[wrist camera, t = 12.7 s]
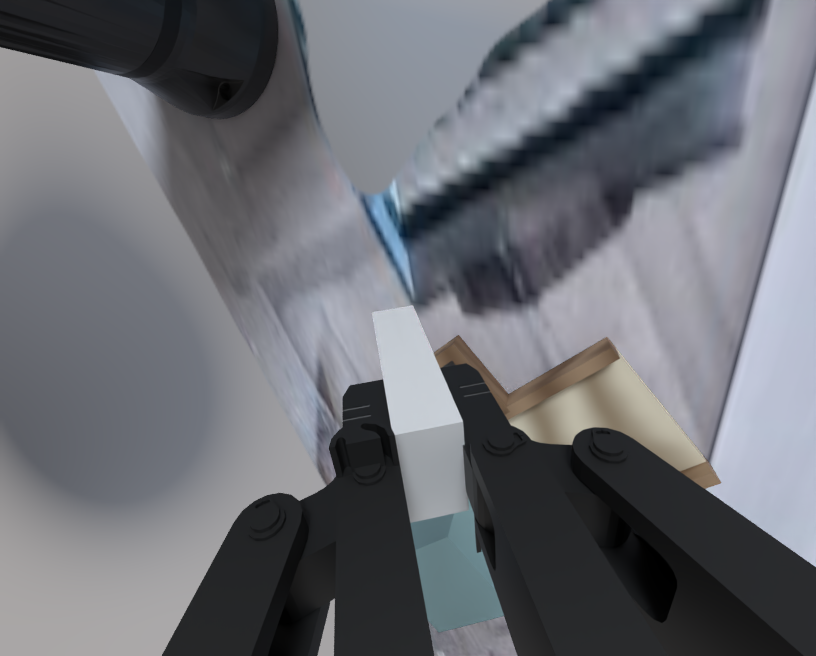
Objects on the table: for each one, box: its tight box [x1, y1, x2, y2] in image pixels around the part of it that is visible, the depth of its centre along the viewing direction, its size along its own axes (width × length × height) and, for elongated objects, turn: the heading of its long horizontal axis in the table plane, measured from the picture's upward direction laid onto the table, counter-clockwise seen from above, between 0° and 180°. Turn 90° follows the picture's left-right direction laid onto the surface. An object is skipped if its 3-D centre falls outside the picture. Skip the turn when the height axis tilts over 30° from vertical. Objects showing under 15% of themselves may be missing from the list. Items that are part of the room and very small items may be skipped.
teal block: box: [410, 498, 504, 632], centre depth 39 cm, size 9×9×11 cm
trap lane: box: [434, 335, 721, 489], centre depth 40 cm, size 29×31×4 cm
